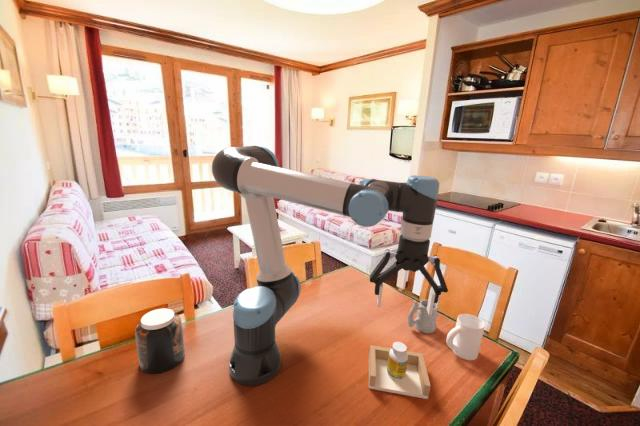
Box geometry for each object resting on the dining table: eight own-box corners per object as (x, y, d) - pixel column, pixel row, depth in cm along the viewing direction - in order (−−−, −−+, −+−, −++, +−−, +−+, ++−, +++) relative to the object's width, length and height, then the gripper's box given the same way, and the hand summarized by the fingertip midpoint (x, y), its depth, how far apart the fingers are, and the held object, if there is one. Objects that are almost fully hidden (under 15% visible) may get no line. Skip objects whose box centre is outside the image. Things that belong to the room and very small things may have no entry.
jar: (150, 382, 78) (144, 336, 74) (133, 360, 85) (126, 317, 81) (191, 357, 87) (188, 315, 83) (172, 339, 94) (168, 300, 90)
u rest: (368, 388, 80) (370, 375, 78) (368, 356, 91) (370, 345, 90) (428, 399, 77) (430, 386, 76) (420, 365, 89) (422, 353, 87)
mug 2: (436, 345, 97) (441, 315, 94) (464, 341, 100) (471, 311, 97) (452, 364, 90) (459, 332, 87) (483, 358, 93) (490, 327, 90)
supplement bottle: (395, 363, 87) (399, 337, 85) (409, 376, 83) (413, 348, 81) (382, 371, 84) (386, 344, 82) (396, 384, 80) (400, 356, 78)
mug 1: (440, 332, 104) (445, 304, 101) (412, 337, 101) (416, 307, 98) (427, 319, 111) (432, 292, 108) (400, 323, 108) (404, 295, 105)
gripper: (365, 236, 71) (357, 309, 77) (471, 247, 67) (454, 324, 73) (366, 226, 78) (358, 294, 84) (461, 237, 74) (447, 307, 80)
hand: (403, 308), depth 78 cm, fingers open, 13 cm apart
